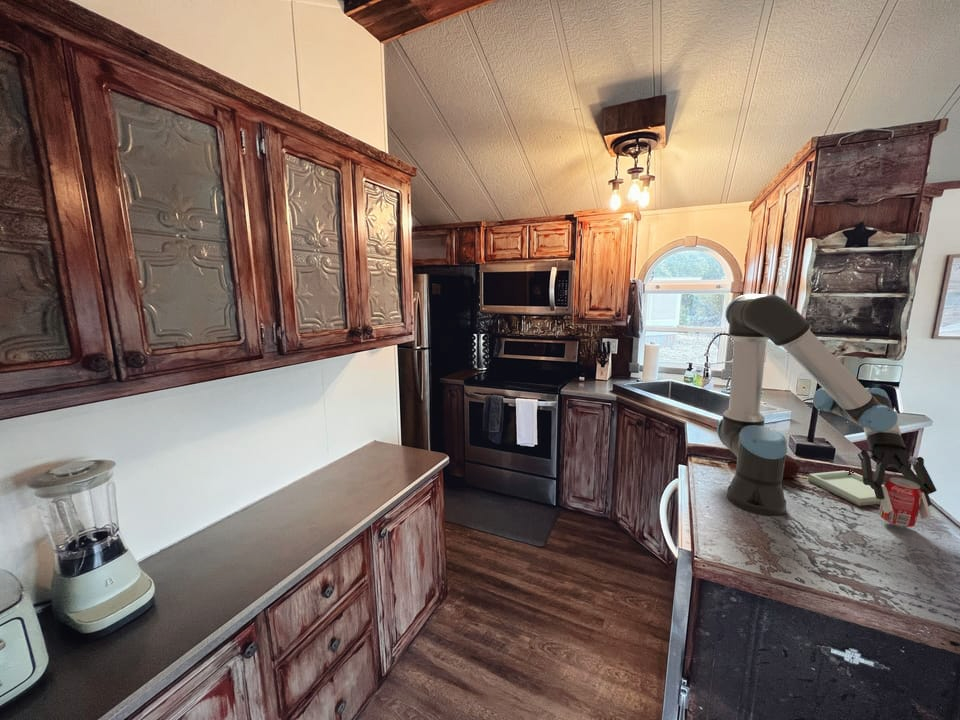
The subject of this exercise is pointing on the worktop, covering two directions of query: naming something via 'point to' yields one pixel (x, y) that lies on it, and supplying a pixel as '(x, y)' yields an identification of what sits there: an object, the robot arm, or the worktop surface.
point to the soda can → (902, 502)
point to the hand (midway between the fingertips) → (907, 514)
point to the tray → (846, 486)
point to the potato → (790, 467)
